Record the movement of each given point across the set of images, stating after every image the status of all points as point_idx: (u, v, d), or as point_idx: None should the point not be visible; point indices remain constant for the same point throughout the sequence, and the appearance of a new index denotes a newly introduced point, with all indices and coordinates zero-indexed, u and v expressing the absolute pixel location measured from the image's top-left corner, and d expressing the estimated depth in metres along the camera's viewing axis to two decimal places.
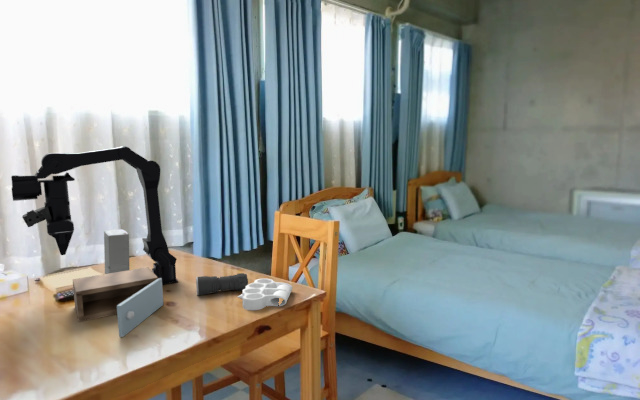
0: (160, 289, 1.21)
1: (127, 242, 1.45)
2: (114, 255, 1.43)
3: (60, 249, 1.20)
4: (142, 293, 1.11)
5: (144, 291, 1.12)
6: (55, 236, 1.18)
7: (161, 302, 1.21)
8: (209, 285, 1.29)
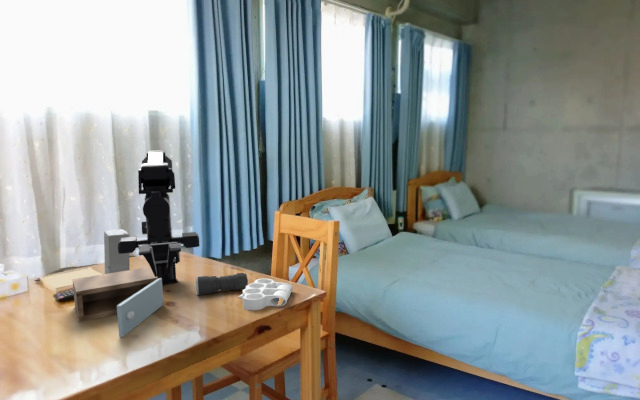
0: (160, 289, 1.21)
1: None
2: (114, 254, 1.43)
3: None
4: (142, 293, 1.11)
5: (144, 291, 1.12)
6: None
7: (161, 302, 1.21)
8: (209, 285, 1.29)
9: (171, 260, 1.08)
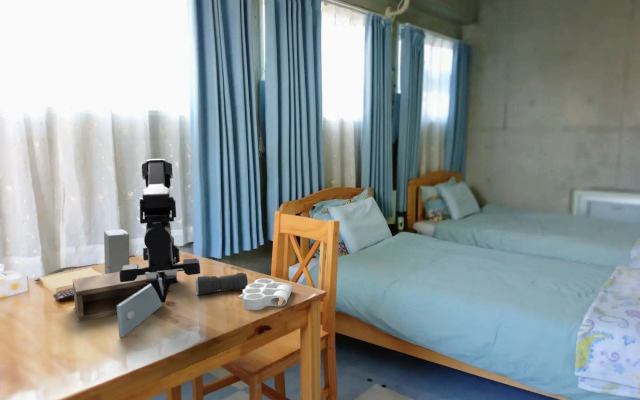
0: None
1: (127, 242, 1.45)
2: (114, 255, 1.43)
3: None
4: (142, 293, 1.11)
5: (144, 291, 1.12)
6: None
7: None
8: (209, 285, 1.29)
9: (167, 288, 1.09)
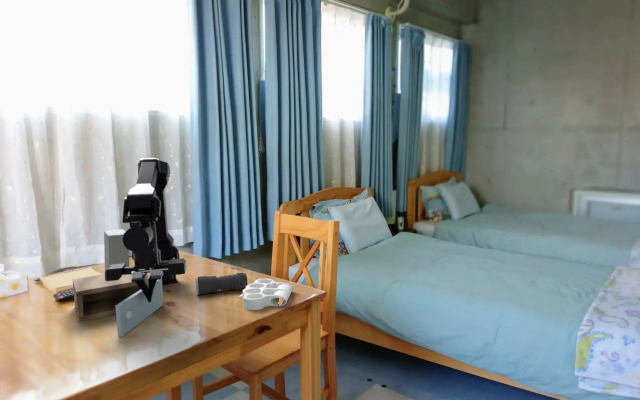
0: (160, 289, 1.21)
1: None
2: (114, 255, 1.43)
3: None
4: (141, 293, 1.11)
5: None
6: None
7: (161, 302, 1.21)
8: (209, 285, 1.29)
9: (151, 287, 1.09)
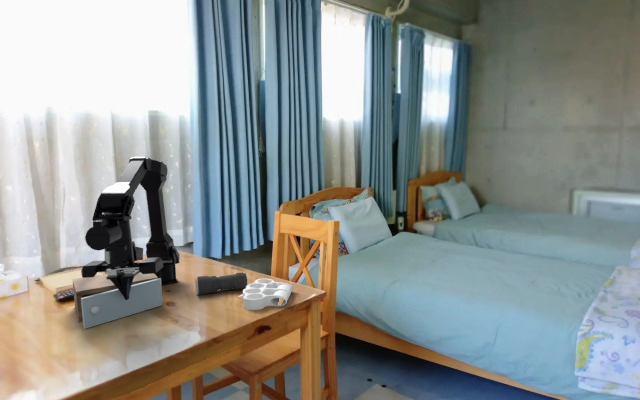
0: (158, 290, 1.21)
1: None
2: None
3: None
4: None
5: None
6: None
7: (158, 302, 1.21)
8: (209, 285, 1.30)
9: (125, 286, 1.10)
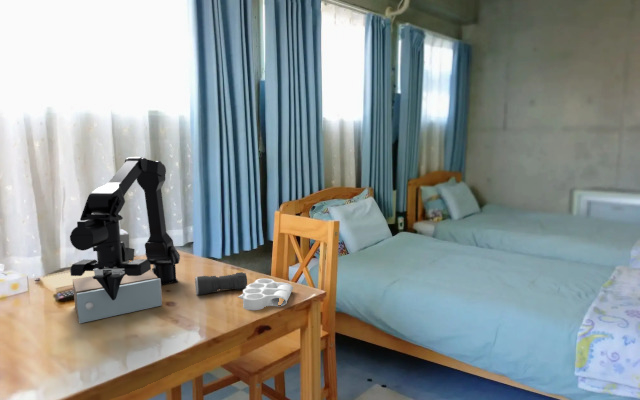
0: (157, 290, 1.21)
1: (127, 242, 1.45)
2: None
3: None
4: None
5: (123, 287, 1.15)
6: None
7: (157, 302, 1.21)
8: (209, 285, 1.30)
9: (111, 286, 1.10)
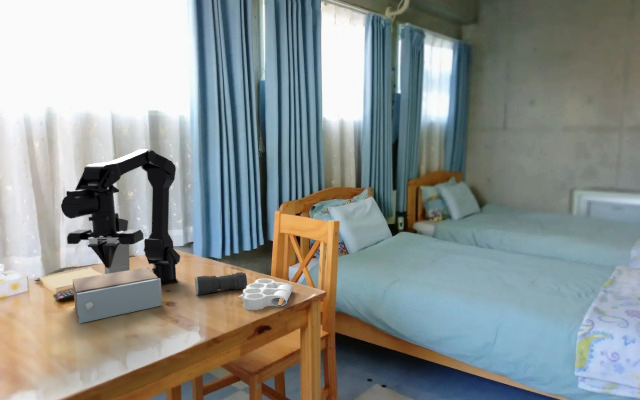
0: (157, 290, 1.21)
1: None
2: (114, 255, 1.43)
3: None
4: (118, 288, 1.15)
5: (123, 287, 1.15)
6: None
7: (157, 302, 1.21)
8: (209, 285, 1.30)
9: (107, 254, 1.16)
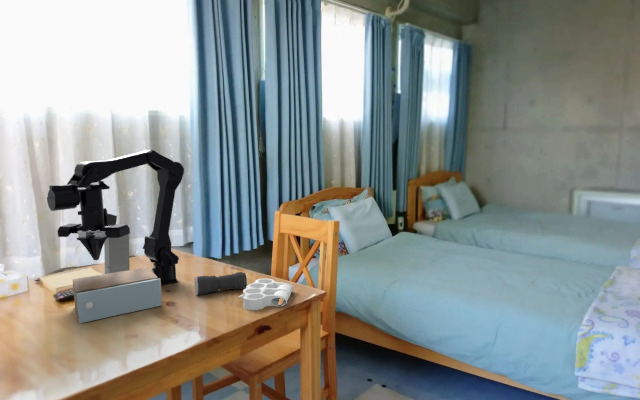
0: (157, 290, 1.21)
1: (127, 242, 1.45)
2: (114, 254, 1.43)
3: None
4: (118, 288, 1.15)
5: (123, 287, 1.15)
6: None
7: (157, 302, 1.21)
8: (209, 284, 1.30)
9: (94, 247, 1.23)
